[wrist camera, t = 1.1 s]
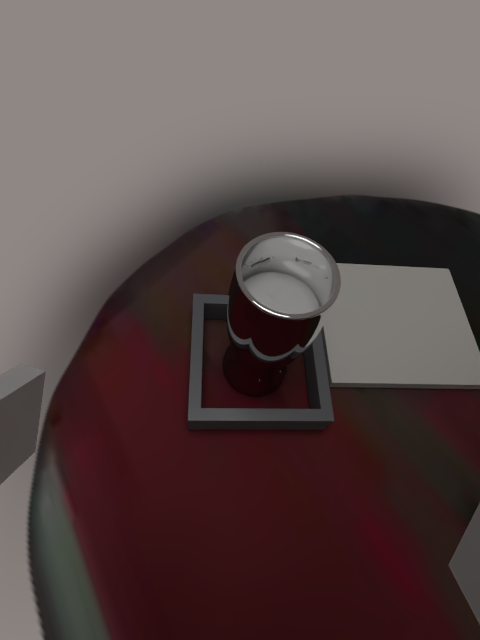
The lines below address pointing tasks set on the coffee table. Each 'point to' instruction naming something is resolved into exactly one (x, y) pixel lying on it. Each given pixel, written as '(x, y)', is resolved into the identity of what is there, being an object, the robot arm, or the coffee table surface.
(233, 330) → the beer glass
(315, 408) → the holder
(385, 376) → the board
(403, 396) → the coffee table surface
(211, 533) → the coffee table surface
